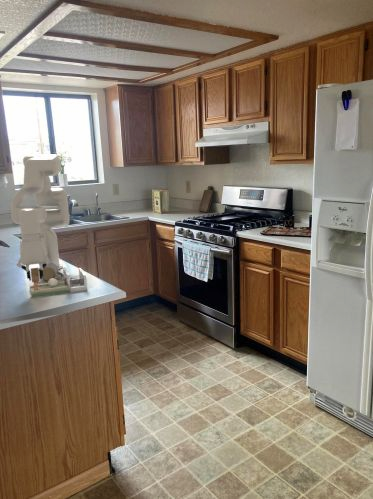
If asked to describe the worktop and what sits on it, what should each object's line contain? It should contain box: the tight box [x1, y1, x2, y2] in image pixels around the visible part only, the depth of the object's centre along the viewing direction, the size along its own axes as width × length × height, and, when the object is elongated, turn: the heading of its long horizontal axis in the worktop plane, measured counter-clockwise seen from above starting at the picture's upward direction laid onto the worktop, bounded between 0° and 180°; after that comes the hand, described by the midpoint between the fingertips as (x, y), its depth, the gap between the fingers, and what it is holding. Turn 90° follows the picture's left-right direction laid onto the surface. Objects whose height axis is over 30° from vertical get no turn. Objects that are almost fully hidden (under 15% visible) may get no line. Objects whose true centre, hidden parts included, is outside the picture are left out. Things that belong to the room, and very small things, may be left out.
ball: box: [47, 278, 59, 287], centre depth 180 cm, size 4×4×4 cm
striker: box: [30, 267, 41, 290], centre depth 176 cm, size 6×3×9 cm, turn 23°
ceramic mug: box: [41, 262, 64, 282], centre depth 198 cm, size 11×8×8 cm
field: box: [29, 280, 69, 299], centre depth 180 cm, size 13×15×2 cm
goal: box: [62, 267, 88, 294], centre depth 183 cm, size 14×8×8 cm, turn 23°
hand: (35, 278), depth 177 cm, fingers open, 3 cm apart
